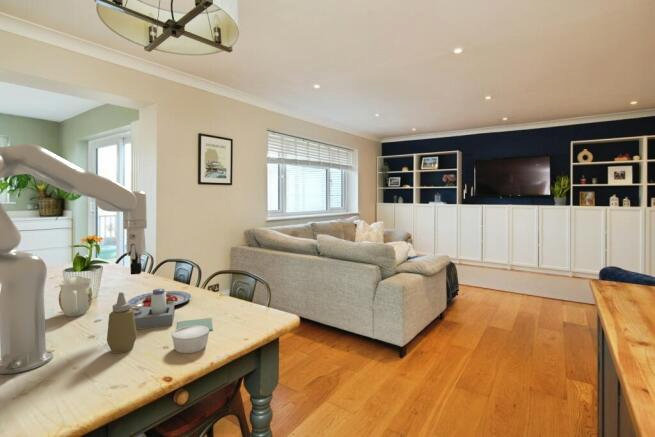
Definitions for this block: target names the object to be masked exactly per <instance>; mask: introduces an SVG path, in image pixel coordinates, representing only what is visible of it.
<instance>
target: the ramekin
mask: <svg viewBox="0 0 655 437" xmlns="http://www.w3.org/2000/svg"><path fill="white" fill-rule="evenodd" d="M209 335H210V331H209V328H208V327H206V326H200V325H193V326H186V327H182V328H179V329H177V328H176V329H175V330H174V331H172V333H171V338H172V344H173V348H174V350H175V351H176V352H177V353H180V354H193V353H197V352H200V351H202V350H203V349H204V348H206V346H207V344H208V340H209Z"/></svg>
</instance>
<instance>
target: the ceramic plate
mask: <svg viewBox="0 0 655 437" xmlns="http://www.w3.org/2000/svg"><path fill="white" fill-rule="evenodd" d="M164 291H165V292H166V306H170V305H174V306H176V305H181V304H183V303H186V302H187V301H189V300H191V297H192V295H191V293H189V292H186V291H179V290H164ZM152 293H153V292H148V293H143V294H140V295H137V296H134V297H131V298H130V299H129V300H128V301H127V302H128V303H130V307H131V305H133V304H143V308H148V307H152V303H151V294H152Z"/></svg>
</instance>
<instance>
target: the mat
mask: <svg viewBox="0 0 655 437" xmlns="http://www.w3.org/2000/svg"><path fill="white" fill-rule="evenodd" d="M193 325H200V326H206V327H208V328H209V332H210V331H214V330H213V329H214V328H213V319H212V317H208V318H198V319H189V320H178V322H177V327H176V330H177V329H179V328H182V327H186V326H193Z"/></svg>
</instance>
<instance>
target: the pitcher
mask: <svg viewBox="0 0 655 437" xmlns="http://www.w3.org/2000/svg"><path fill="white" fill-rule="evenodd" d="M91 283H92V279H91V278H89V277H82V276H81V275H80V276H79V275H77V276H72V277H70V278H68V279H64V280H62V281H60V282H59V283H58V284H59V288H60V290H59V294H58V305H59V308H60V310H61V312H62V313H63V314H64V315H65V316H66V317H78V316H81V315H85V314H87V312H88V311H89V309H90V307H91V305H92V303H93V297H94V296H93V289H92V288H91Z"/></svg>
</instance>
